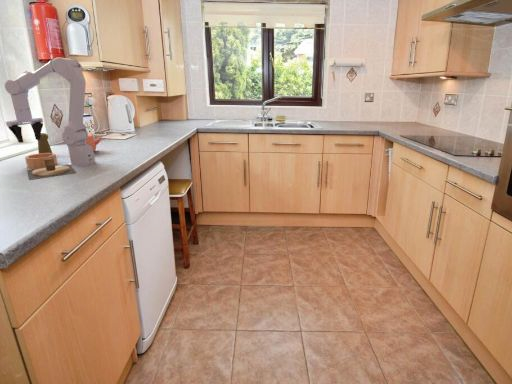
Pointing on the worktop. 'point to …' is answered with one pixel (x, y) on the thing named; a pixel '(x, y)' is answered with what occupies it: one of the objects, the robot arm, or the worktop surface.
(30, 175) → the mat
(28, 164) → the bowl
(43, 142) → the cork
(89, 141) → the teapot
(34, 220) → the worktop surface
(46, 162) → the lid
